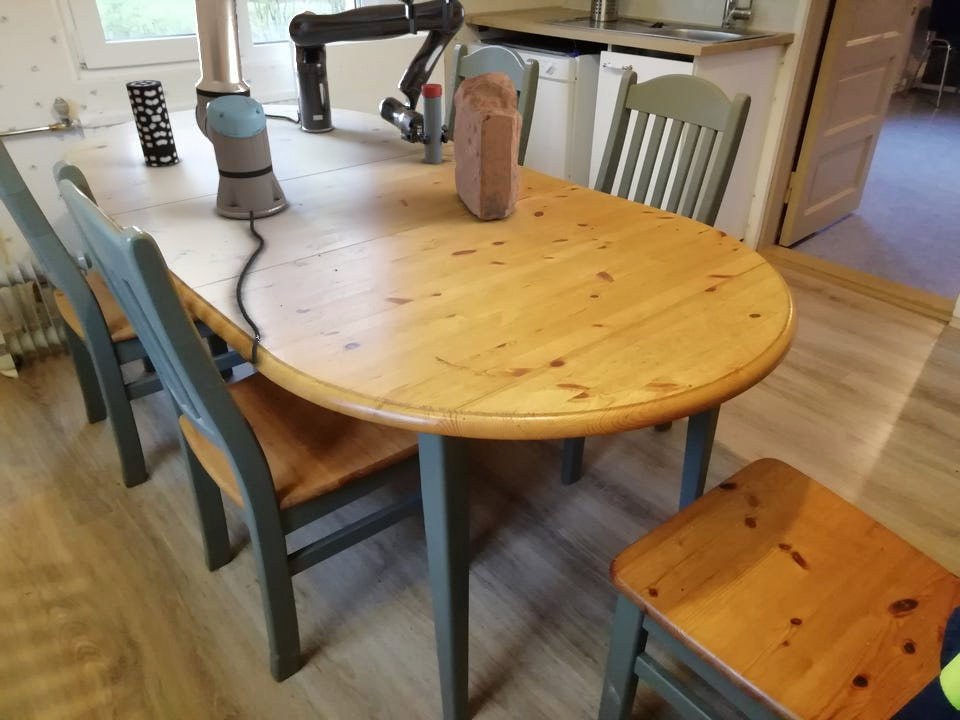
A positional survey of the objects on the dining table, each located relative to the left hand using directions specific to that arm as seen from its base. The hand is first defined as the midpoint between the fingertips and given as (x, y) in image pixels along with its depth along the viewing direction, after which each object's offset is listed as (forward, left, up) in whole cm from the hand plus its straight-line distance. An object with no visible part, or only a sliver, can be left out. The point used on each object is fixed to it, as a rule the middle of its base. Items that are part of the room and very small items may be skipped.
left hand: (430, 32), depth 172 cm
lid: (0, 0, -13) cm, 13 cm away
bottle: (0, 0, -32) cm, 32 cm away
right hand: (-3, 0, -26) cm, 26 cm away
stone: (-37, +4, -32) cm, 49 cm away
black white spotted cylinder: (+32, +66, -22) cm, 77 cm away
